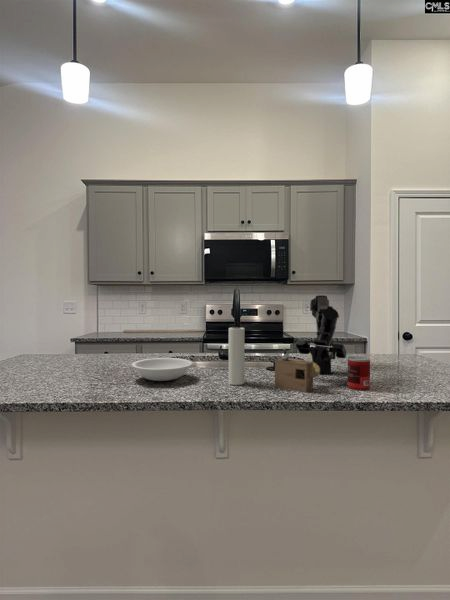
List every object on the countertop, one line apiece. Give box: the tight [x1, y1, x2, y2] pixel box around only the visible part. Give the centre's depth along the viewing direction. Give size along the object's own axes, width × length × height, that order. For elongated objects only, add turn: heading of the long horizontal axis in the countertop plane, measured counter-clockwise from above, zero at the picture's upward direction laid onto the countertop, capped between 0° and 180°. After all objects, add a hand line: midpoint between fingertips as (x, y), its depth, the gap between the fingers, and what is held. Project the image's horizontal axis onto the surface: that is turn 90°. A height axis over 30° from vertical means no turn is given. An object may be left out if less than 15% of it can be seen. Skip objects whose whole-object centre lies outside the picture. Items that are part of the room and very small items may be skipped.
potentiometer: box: [280, 348, 290, 361], centre depth 142 cm, size 3×3×4 cm
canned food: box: [347, 355, 371, 391], centre depth 141 cm, size 8×8×11 cm
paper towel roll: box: [228, 326, 246, 386], centre depth 147 cm, size 7×6×21 cm
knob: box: [301, 362, 320, 378], centre depth 142 cm, size 7×6×6 cm
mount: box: [274, 358, 314, 393], centre depth 141 cm, size 7×12×10 cm, turn 54°
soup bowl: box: [131, 357, 194, 382], centre depth 154 cm, size 24×24×7 cm
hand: (314, 366), depth 145 cm, fingers closed
